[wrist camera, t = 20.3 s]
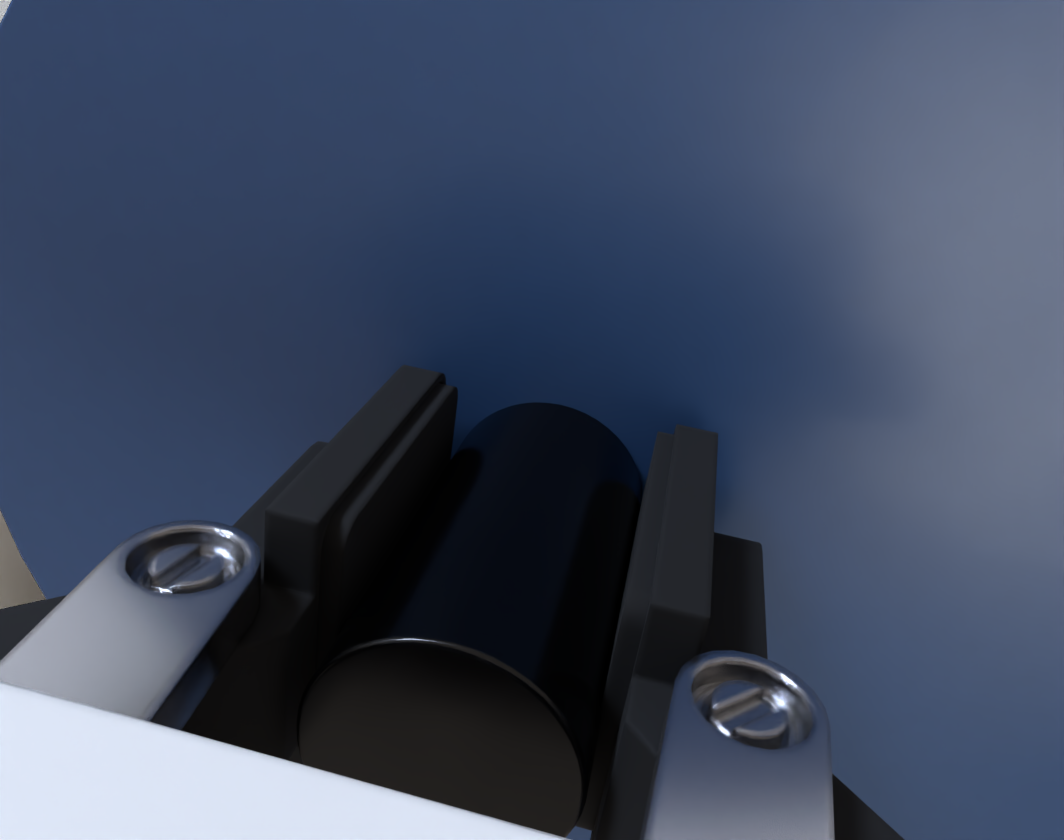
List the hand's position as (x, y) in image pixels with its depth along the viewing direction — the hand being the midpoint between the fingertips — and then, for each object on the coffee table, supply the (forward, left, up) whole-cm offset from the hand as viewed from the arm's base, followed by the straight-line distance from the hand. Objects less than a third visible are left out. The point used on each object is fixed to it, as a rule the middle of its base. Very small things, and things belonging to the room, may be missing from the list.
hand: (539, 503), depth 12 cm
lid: (0, 0, -1) cm, 1 cm away
